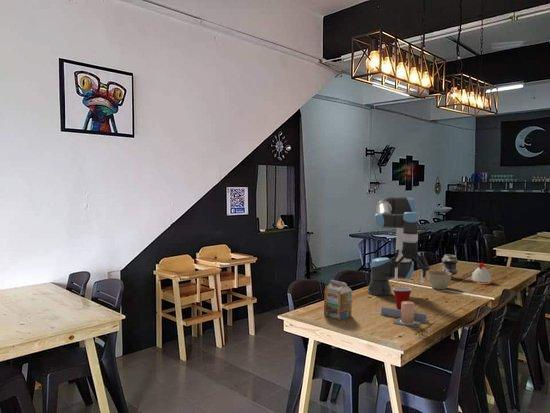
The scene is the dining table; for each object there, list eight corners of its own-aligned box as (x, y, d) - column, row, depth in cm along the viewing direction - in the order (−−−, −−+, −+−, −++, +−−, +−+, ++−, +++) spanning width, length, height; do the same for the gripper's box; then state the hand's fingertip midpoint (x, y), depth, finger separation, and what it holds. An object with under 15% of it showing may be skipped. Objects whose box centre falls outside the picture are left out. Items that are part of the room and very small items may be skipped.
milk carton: (323, 315, 232) (324, 281, 231) (335, 311, 240) (336, 278, 239) (339, 320, 225) (340, 284, 224) (351, 316, 232) (352, 281, 231)
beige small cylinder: (399, 322, 221) (399, 303, 221) (402, 319, 227) (403, 300, 226) (412, 324, 218) (412, 305, 217) (415, 321, 223) (415, 302, 223)
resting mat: (392, 323, 221) (392, 322, 221) (398, 317, 230) (398, 317, 230) (416, 327, 214) (416, 326, 214) (421, 322, 224) (421, 321, 224)
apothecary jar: (459, 280, 327) (460, 256, 326) (442, 279, 328) (443, 256, 328) (455, 276, 338) (455, 254, 338) (439, 276, 340) (439, 253, 339)
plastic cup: (397, 304, 256) (398, 284, 256) (414, 308, 249) (415, 288, 248) (388, 307, 249) (388, 287, 248) (405, 312, 241) (406, 291, 240)
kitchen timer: (467, 282, 321) (468, 262, 320) (475, 279, 330) (476, 260, 329) (486, 285, 311) (487, 265, 310) (494, 282, 320) (495, 263, 319)
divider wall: (380, 314, 235) (380, 307, 235) (382, 313, 238) (382, 306, 238) (426, 322, 222) (426, 315, 222) (427, 321, 225) (427, 313, 225)
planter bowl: (451, 286, 304) (452, 271, 304) (450, 291, 290) (451, 276, 289) (427, 284, 311) (428, 269, 311) (425, 289, 296) (426, 273, 296)
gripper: (384, 240, 227) (383, 279, 229) (433, 244, 214) (431, 286, 215) (388, 238, 234) (387, 276, 235) (436, 242, 220) (435, 283, 222)
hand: (408, 281), depth 225 cm, fingers open, 13 cm apart
